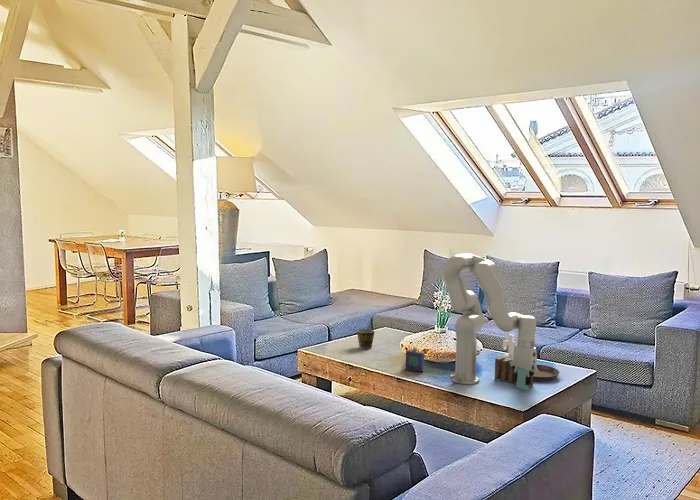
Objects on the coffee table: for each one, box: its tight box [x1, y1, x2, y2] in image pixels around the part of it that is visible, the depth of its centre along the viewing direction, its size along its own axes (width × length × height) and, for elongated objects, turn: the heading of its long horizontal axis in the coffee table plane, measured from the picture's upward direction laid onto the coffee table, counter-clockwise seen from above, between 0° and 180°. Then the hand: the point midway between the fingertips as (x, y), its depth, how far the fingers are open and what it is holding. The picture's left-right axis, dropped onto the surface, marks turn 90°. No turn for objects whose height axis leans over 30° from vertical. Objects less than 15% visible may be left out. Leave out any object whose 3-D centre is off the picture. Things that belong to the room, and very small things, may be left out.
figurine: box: [500, 333, 517, 360], centre depth 331 cm, size 7×9×15 cm
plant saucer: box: [533, 364, 560, 382], centre depth 308 cm, size 21×21×3 cm
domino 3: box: [507, 362, 516, 385], centre depth 296 cm, size 2×5×10 cm, turn 129°
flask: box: [404, 347, 425, 372], centre depth 314 cm, size 10×3×12 cm, turn 60°
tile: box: [515, 367, 530, 391], centre depth 283 cm, size 2×5×10 cm, turn 39°
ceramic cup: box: [356, 328, 375, 351], centre depth 357 cm, size 13×10×10 cm
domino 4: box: [528, 369, 534, 389], centre depth 290 cm, size 2×5×10 cm, turn 129°
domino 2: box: [500, 359, 512, 383], centre depth 299 cm, size 2×5×10 cm, turn 129°
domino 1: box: [494, 356, 505, 381], centre depth 302 cm, size 2×5×10 cm, turn 129°
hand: (522, 382), depth 283 cm, fingers closed on tile, 4 cm apart
